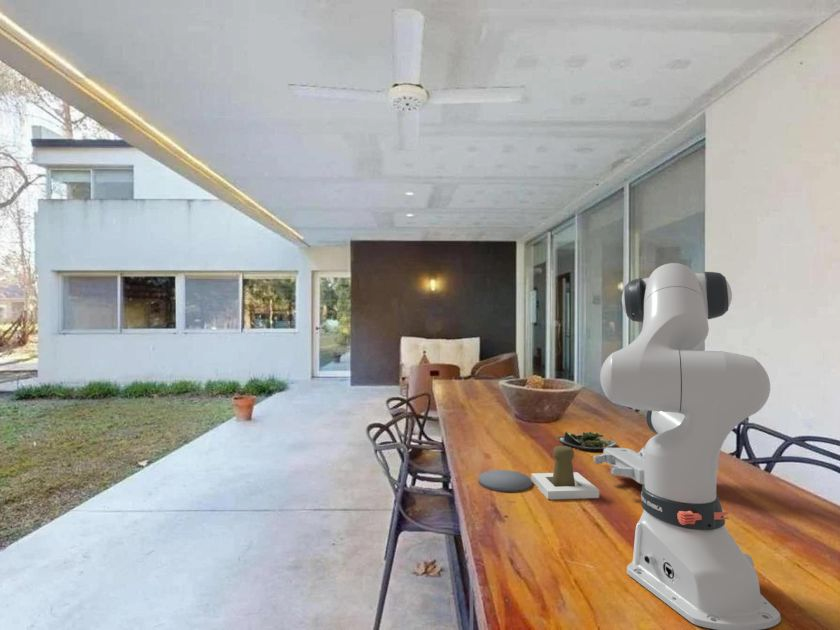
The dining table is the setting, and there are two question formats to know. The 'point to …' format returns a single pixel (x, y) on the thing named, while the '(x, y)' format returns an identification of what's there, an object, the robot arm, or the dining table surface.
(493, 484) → the charcoal mat
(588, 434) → the salad plate
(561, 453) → the olive pawn
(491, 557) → the dining table surface
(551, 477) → the white square frame
